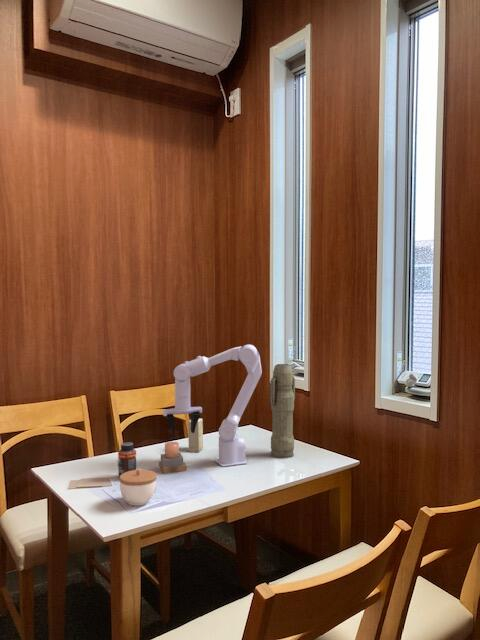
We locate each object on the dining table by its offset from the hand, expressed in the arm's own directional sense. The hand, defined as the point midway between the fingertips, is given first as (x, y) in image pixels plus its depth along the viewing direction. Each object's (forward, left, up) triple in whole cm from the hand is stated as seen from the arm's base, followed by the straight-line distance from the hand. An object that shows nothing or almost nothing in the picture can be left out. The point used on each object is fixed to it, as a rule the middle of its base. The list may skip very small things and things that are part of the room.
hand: (182, 433), depth 183 cm
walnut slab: (+6, +7, -11) cm, 14 cm away
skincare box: (-9, -12, -11) cm, 18 cm away
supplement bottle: (+22, +9, -11) cm, 26 cm away
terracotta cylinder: (+6, +7, -6) cm, 11 cm away
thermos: (-38, +7, -11) cm, 40 cm away
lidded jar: (+23, +31, -11) cm, 40 cm away
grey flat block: (+6, +7, -8) cm, 12 cm away
